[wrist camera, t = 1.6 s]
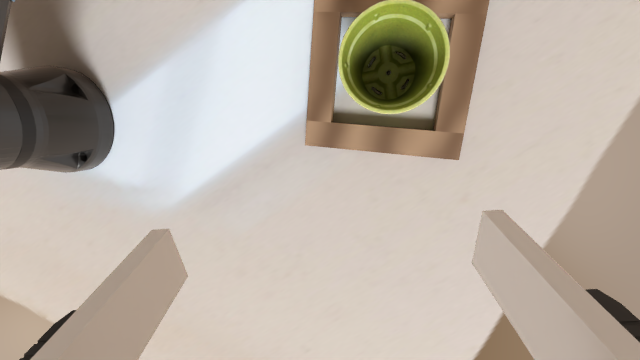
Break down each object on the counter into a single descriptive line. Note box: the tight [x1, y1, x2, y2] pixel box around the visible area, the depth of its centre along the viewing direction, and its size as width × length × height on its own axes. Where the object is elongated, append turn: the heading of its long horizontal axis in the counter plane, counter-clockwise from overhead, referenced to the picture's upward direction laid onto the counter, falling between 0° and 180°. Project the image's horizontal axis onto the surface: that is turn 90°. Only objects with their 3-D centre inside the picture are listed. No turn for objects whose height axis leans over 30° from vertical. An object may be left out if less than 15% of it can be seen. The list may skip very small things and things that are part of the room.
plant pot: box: [338, 0, 450, 114], centre depth 28 cm, size 9×9×9 cm
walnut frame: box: [305, 0, 489, 160], centre depth 32 cm, size 18×18×2 cm
